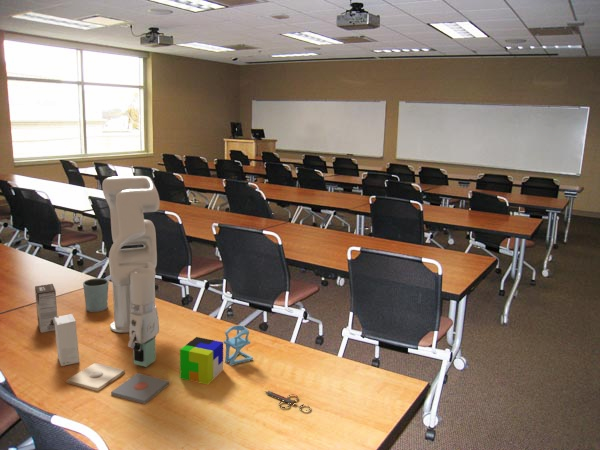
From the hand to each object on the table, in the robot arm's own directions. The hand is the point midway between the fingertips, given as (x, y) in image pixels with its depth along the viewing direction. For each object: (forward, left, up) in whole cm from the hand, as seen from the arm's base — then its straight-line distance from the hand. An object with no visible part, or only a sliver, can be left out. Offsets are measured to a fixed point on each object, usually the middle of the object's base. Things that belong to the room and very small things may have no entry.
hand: (144, 356), depth 162 cm
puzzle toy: (-3, +20, -3) cm, 21 cm away
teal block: (0, 0, -2) cm, 2 cm away
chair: (-16, +26, -3) cm, 31 cm away
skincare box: (+7, -26, -3) cm, 27 cm away
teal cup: (-33, -50, -3) cm, 59 cm away
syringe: (+1, +51, -4) cm, 51 cm away
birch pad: (+13, -9, -3) cm, 16 cm away
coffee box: (-10, -53, -3) cm, 54 cm away
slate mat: (+13, +8, -3) cm, 16 cm away
